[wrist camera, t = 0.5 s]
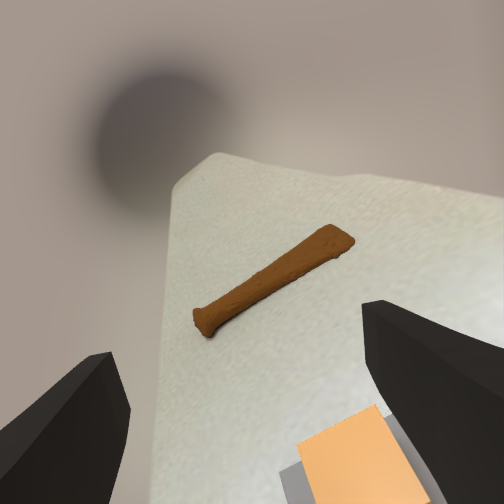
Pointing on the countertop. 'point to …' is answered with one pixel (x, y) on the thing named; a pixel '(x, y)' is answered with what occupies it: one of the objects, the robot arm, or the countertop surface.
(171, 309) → the countertop surface
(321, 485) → the wooden cube
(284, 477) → the board
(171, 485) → the countertop surface
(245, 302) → the primitive tool
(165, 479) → the countertop surface
